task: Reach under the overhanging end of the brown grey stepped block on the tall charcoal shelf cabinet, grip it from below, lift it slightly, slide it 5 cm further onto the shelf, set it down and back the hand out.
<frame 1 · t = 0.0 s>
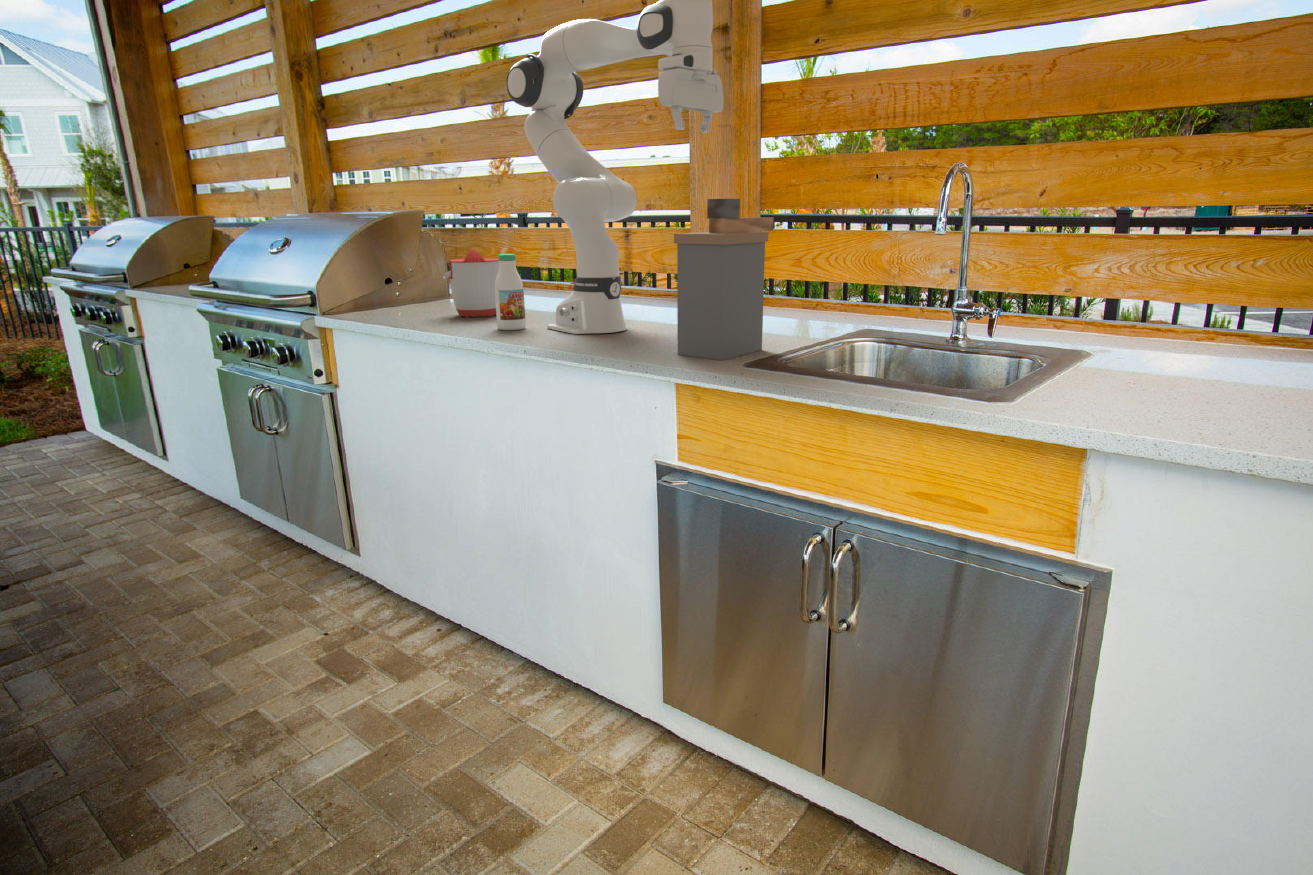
hand: (692, 131, 174), 48 cm above the counter, tool pointing down, fingers open, 8 cm apart
shelf cabinet: (720, 352, 172), on the counter
brown grey stepped block: (742, 231, 171), point 26 cm above the counter, touching shelf cabinet
milk bottle: (511, 329, 210), on the counter
citrus juicer: (475, 316, 238), on the counter
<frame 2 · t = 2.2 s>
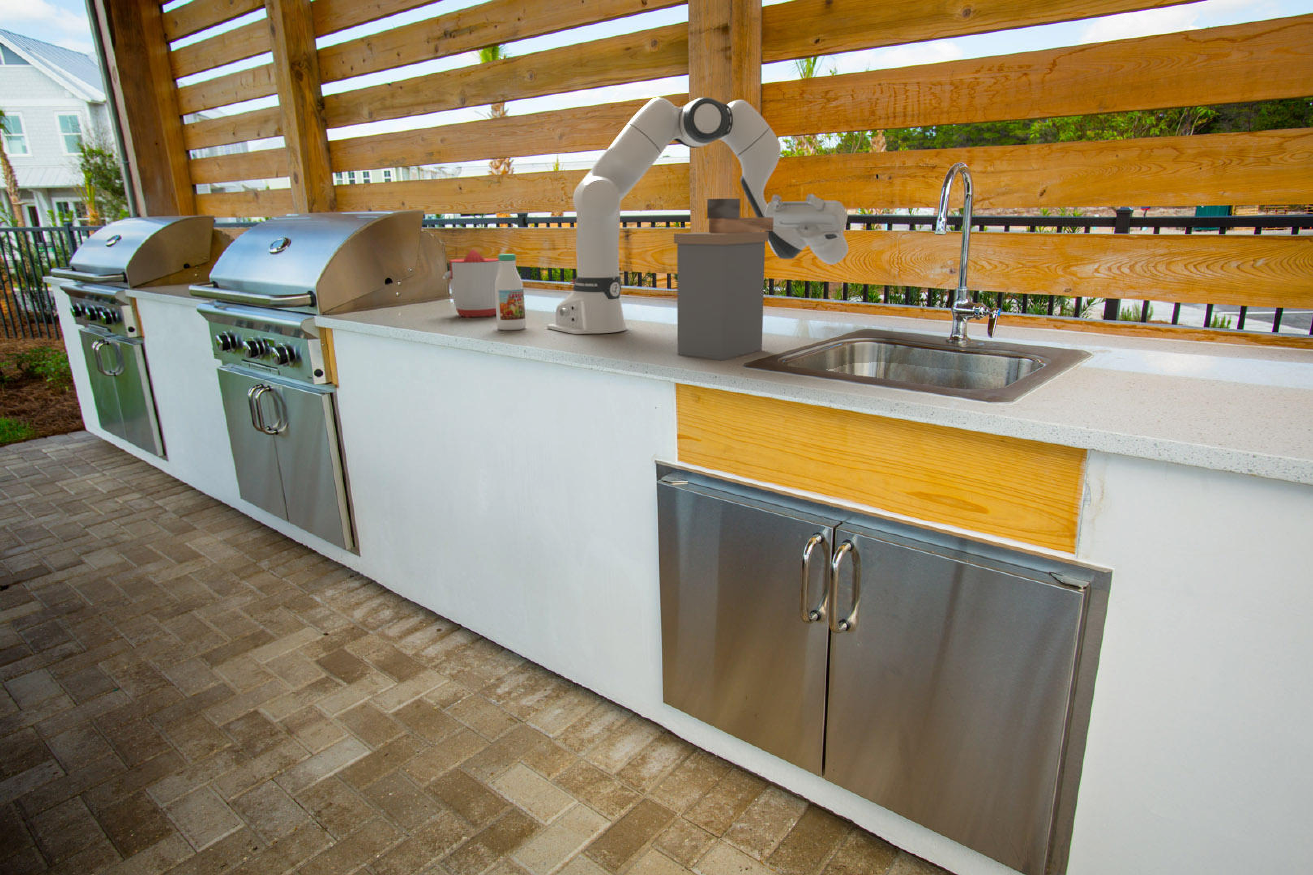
hand: (791, 197, 185), 34 cm above the counter, tool pointing upward, fingers open, 8 cm apart
nothing on the counter moved.
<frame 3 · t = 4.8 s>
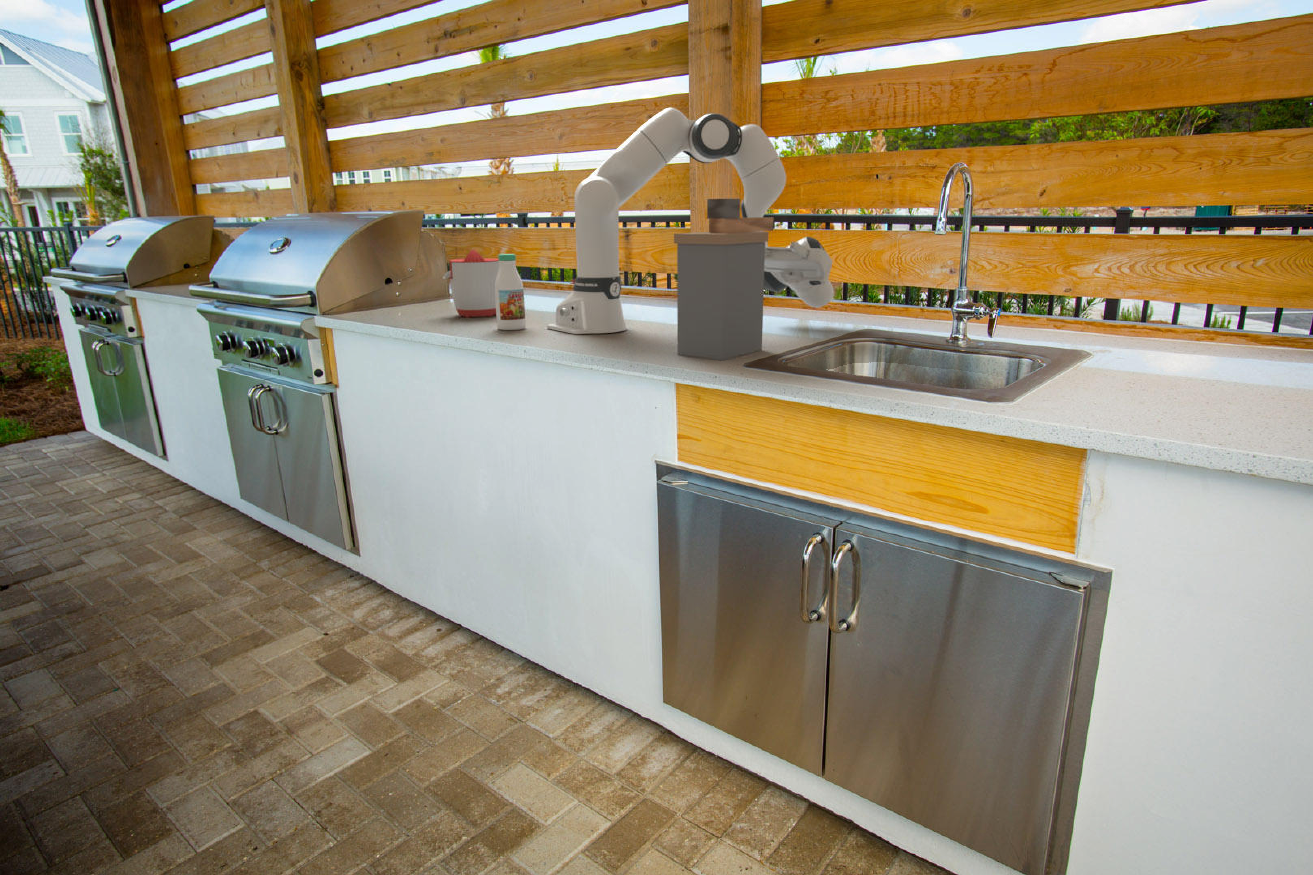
hand: (775, 244, 183), 23 cm above the counter, tool pointing upward, fingers open, 8 cm apart
nothing on the counter moved.
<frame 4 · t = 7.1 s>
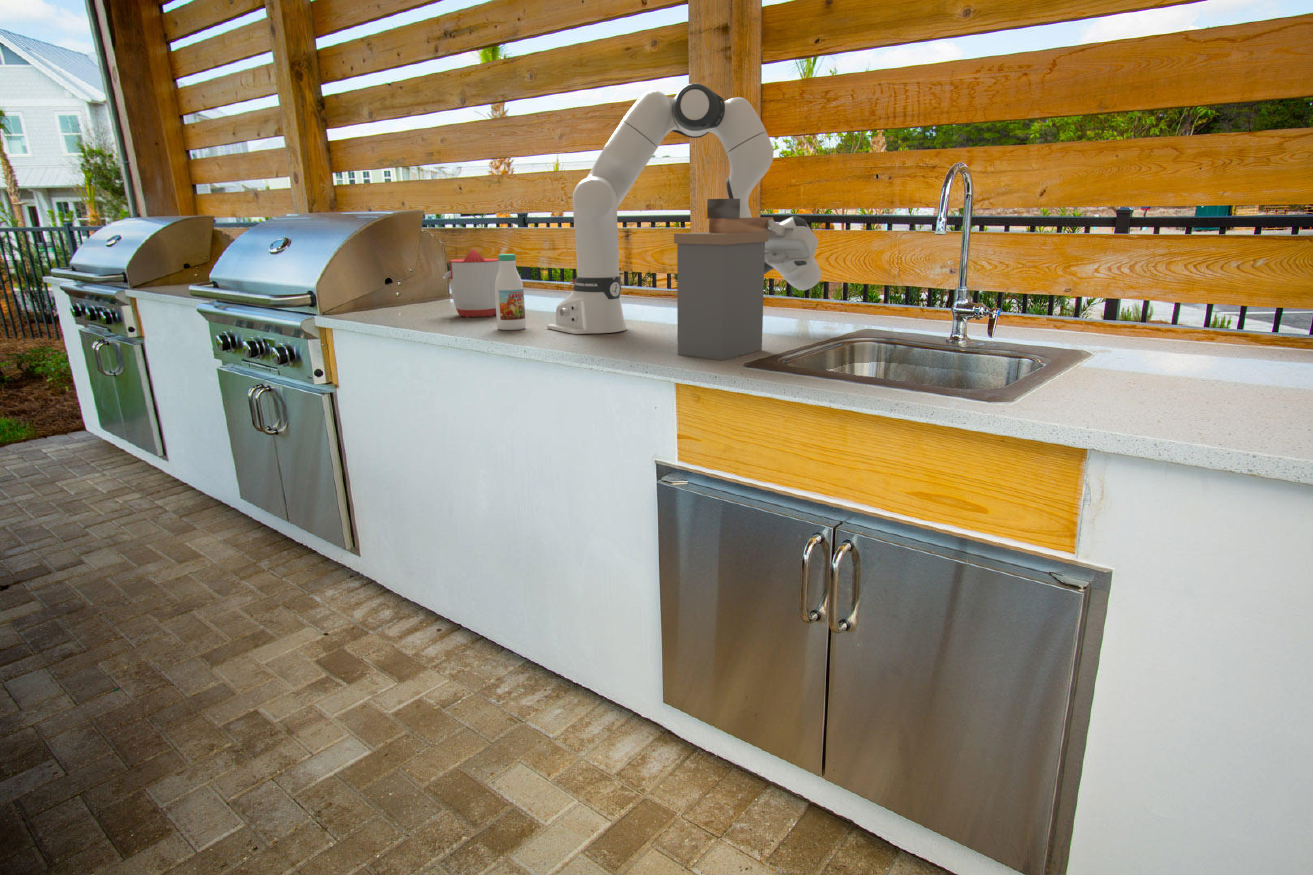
hand: (758, 222, 175), 28 cm above the counter, tool pointing upward, fingers closed on brown grey stepped block, 4 cm apart
brown grey stepped block: (742, 231, 171), point 26 cm above the counter, touching gripper, shelf cabinet
everything else where it was.
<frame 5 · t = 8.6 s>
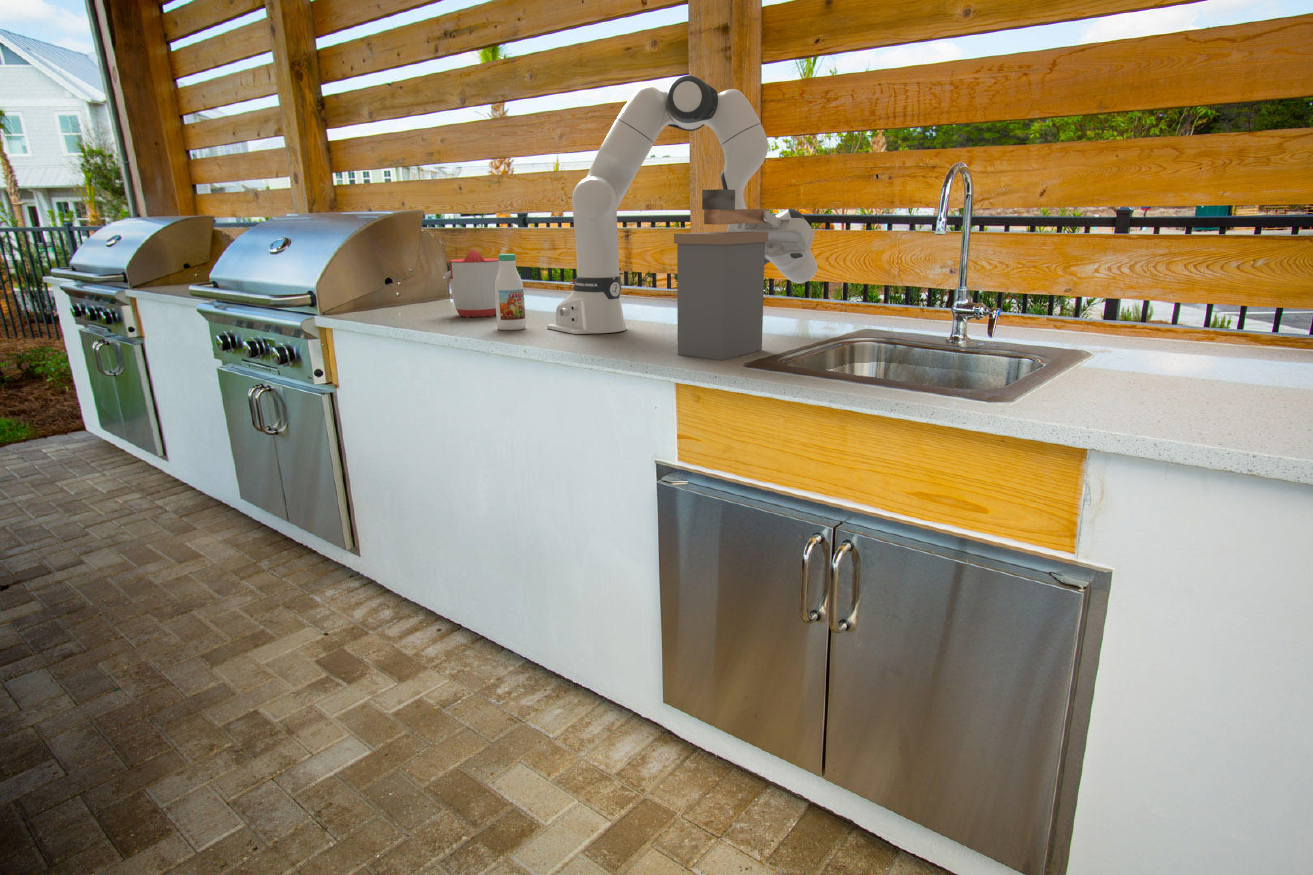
hand: (753, 214, 173), 30 cm above the counter, tool pointing upward, fingers closed on brown grey stepped block, 4 cm apart
brown grey stepped block: (737, 223, 169), point 28 cm above the counter, touching gripper
everything else where it was.
when the fingers open (28 cm above the counter, at t = 10.0 s): brown grey stepped block stays where it is, resting on shelf cabinet.
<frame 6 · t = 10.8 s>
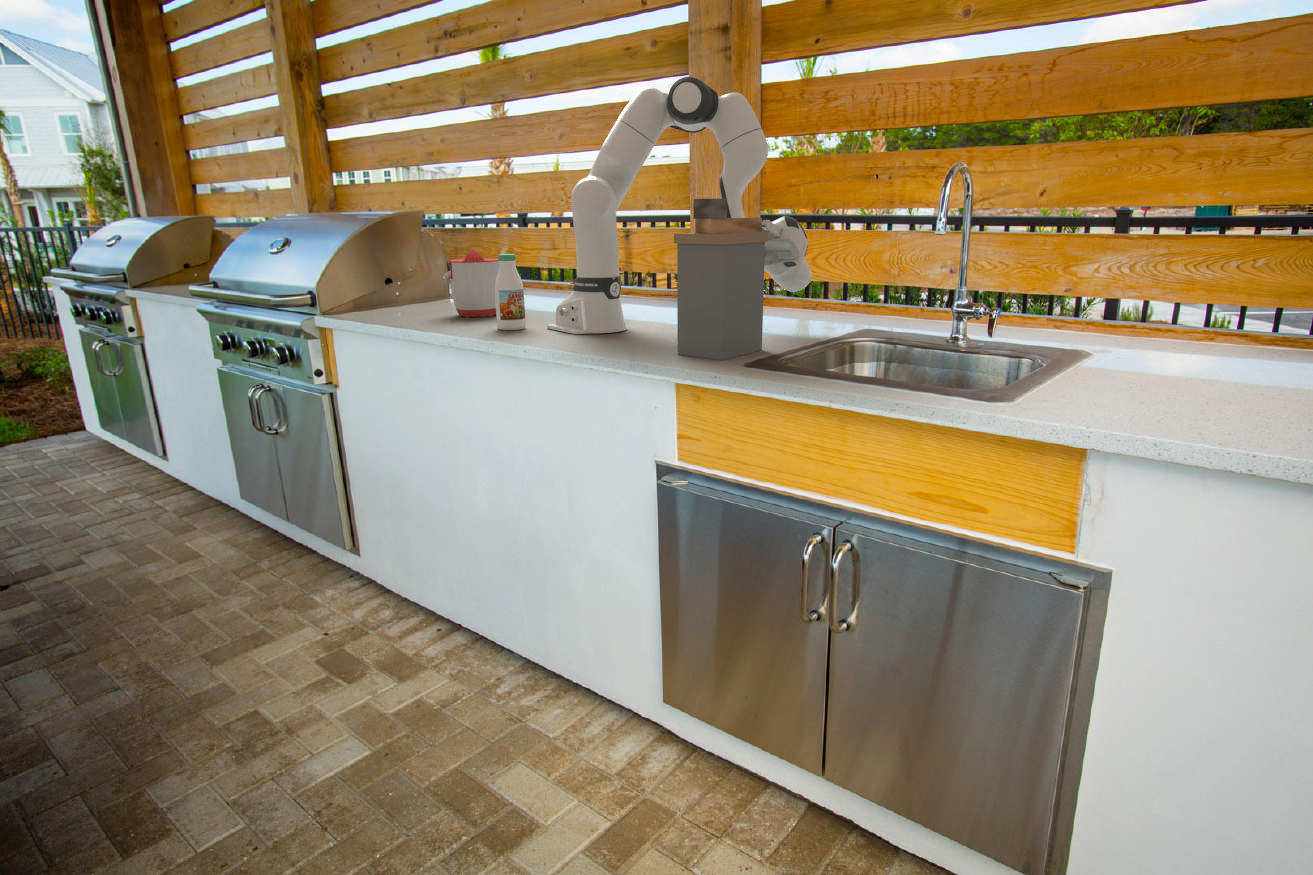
hand: (746, 222, 172), 28 cm above the counter, tool pointing upward, fingers open, 8 cm apart
brown grey stepped block: (729, 232, 167), point 26 cm above the counter, touching shelf cabinet
everything else where it was.
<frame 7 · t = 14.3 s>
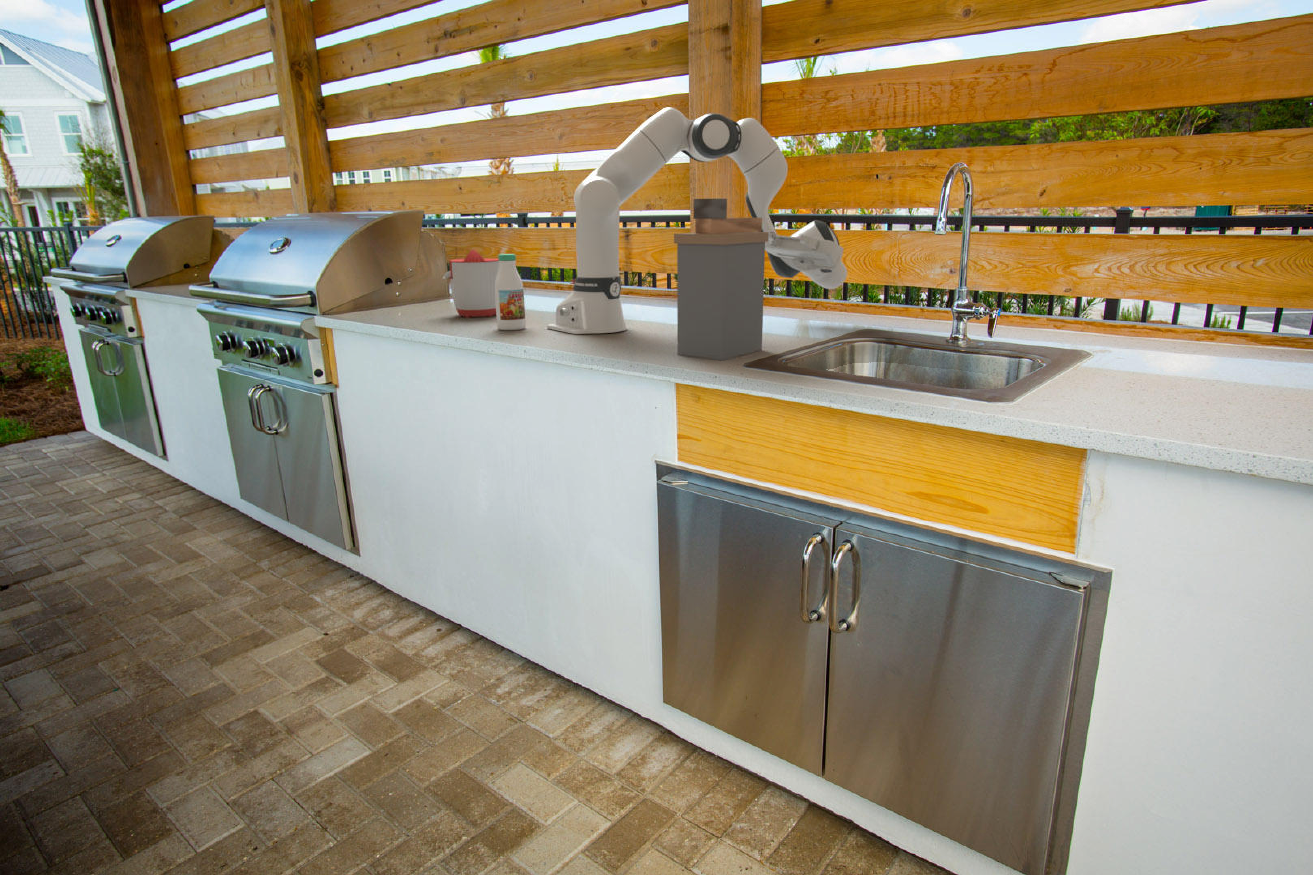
hand: (786, 236, 186), 24 cm above the counter, tool pointing upward, fingers open, 8 cm apart
nothing on the counter moved.
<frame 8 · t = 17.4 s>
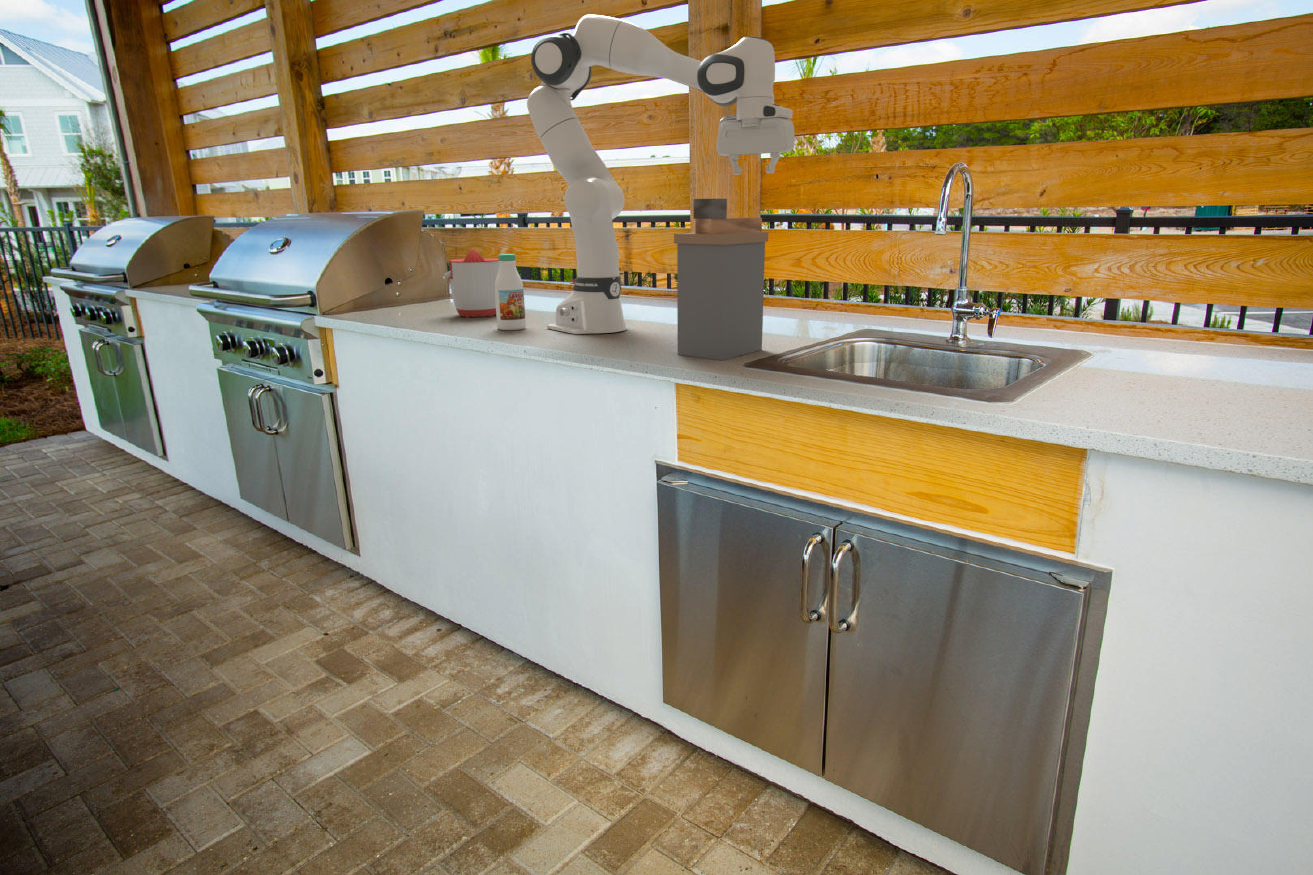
hand: (753, 174, 186), 39 cm above the counter, tool pointing down, fingers open, 8 cm apart
nothing on the counter moved.
at the end: brown grey stepped block 0.5 cm from the target spot, point 26.0 cm above the counter; brown grey stepped block moved 5.0 cm from its start; brown grey stepped block tilted 0° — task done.
